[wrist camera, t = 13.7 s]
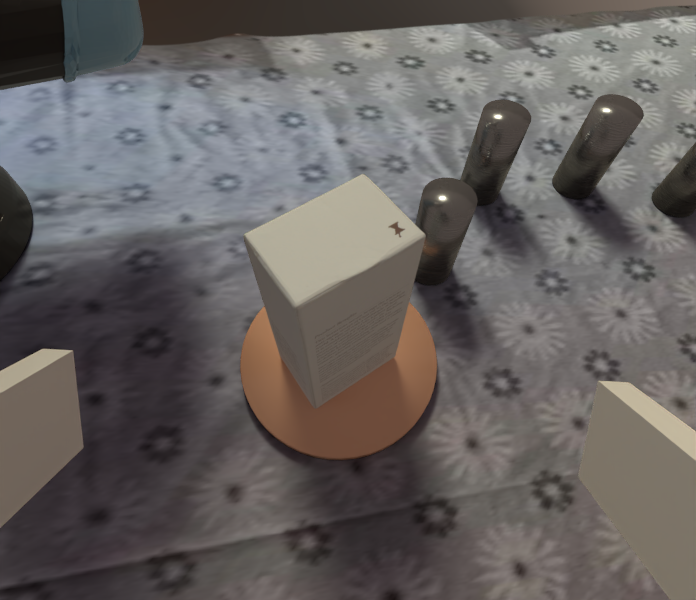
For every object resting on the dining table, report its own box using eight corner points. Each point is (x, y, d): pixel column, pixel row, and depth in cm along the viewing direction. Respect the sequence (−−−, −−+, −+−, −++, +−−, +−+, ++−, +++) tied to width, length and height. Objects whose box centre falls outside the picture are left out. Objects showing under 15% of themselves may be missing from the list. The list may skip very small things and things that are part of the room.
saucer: (212, 331, 29) (208, 325, 28) (367, 254, 32) (368, 248, 32) (301, 504, 24) (300, 502, 23) (473, 391, 27) (477, 387, 27)
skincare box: (356, 307, 29) (367, 168, 19) (396, 357, 28) (432, 234, 17) (275, 356, 27) (238, 231, 17) (312, 413, 26) (297, 312, 15)
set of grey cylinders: (367, 223, 34) (374, 150, 28) (588, 120, 41) (632, 42, 35) (570, 473, 25) (644, 444, 19) (808, 288, 32) (919, 224, 26)
